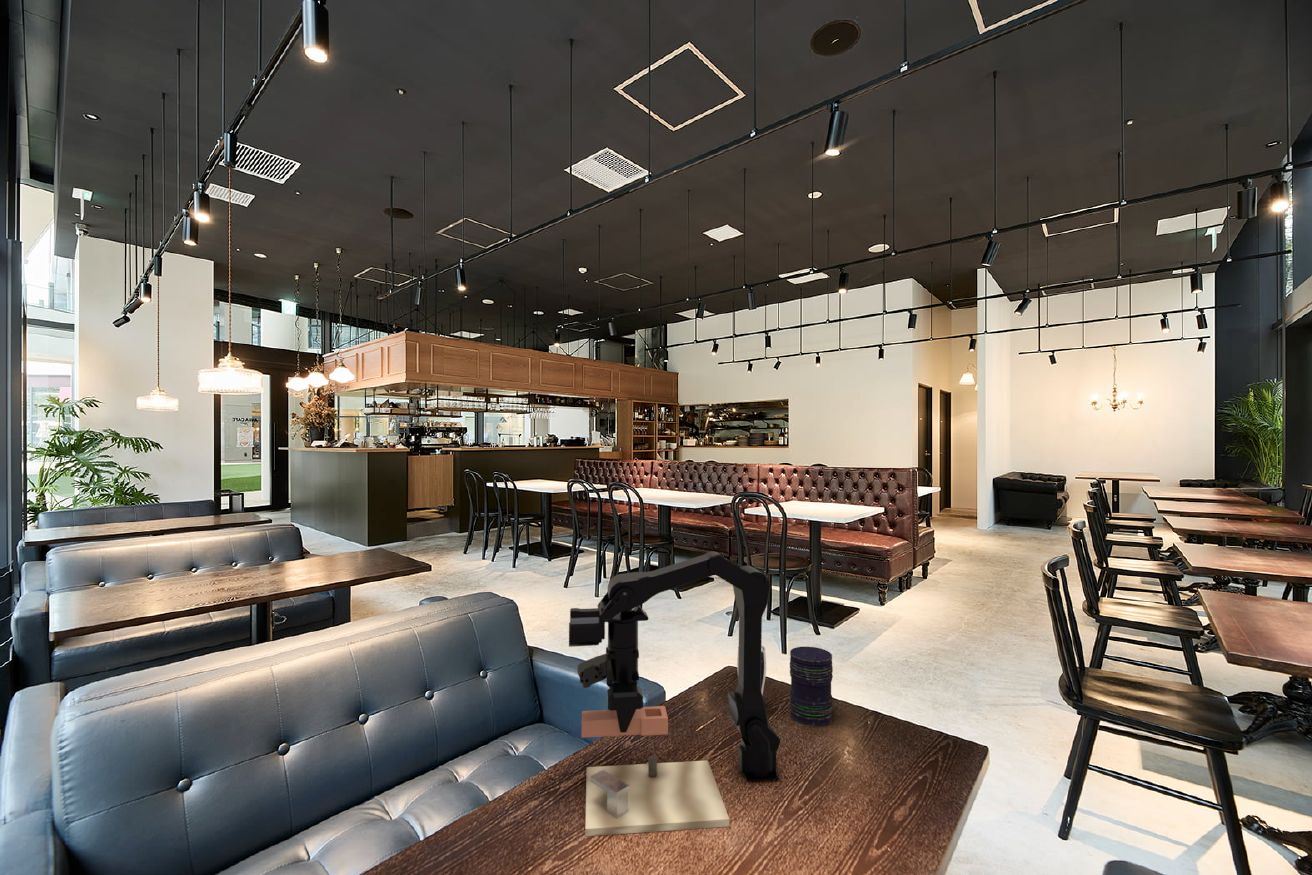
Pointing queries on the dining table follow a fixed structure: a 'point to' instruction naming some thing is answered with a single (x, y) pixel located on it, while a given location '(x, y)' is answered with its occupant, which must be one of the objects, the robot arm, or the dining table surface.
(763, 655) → the beer glass
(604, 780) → the block
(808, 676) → the storage jar
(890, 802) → the dining table surface
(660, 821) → the board
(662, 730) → the link
